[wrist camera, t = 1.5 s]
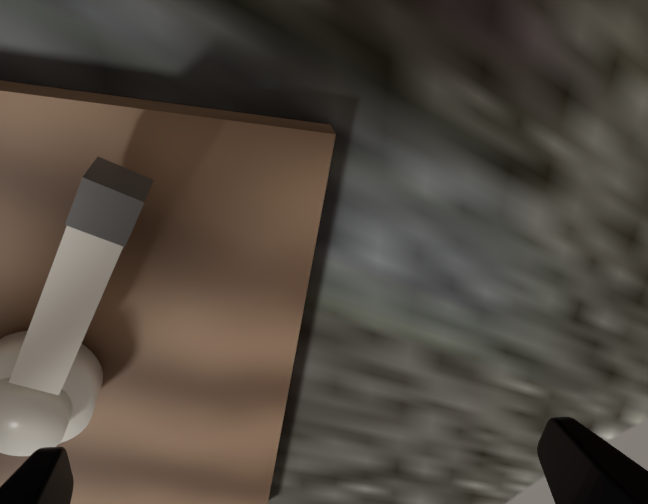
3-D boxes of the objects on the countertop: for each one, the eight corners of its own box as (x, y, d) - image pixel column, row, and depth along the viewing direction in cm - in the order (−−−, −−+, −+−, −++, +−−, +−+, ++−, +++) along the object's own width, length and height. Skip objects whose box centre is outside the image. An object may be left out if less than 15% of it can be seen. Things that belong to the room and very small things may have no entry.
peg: (83, 423, 22) (64, 480, 19) (-30, 396, 20) (-66, 454, 18) (197, 185, 17) (190, 221, 15) (61, 125, 15) (28, 155, 13)
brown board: (263, 504, 28) (264, 528, 27) (-148, 515, 24) (-168, 544, 23) (330, 124, 18) (336, 136, 17) (-366, 31, 14) (-424, 37, 13)
